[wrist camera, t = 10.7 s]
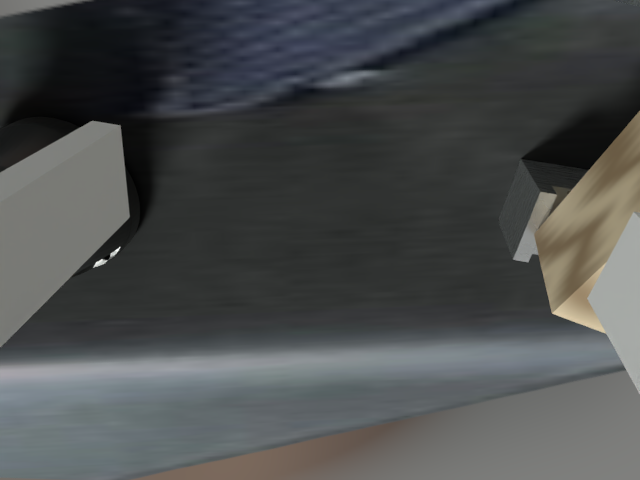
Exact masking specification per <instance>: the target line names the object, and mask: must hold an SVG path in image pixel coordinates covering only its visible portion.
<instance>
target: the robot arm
mask: <svg viewBox="0 0 640 480" xmlns="http://www.w3.org/2000/svg"><path fill="white" fill-rule="evenodd" d="M139 220H140V202H139V197H138V193H137V190H136V187H135V184H134V182H133V180H132V178H131V176H130V174H129V172H128V170H127V169H126V167H125V164H124V154H123V144H122V134H121V125H115V124H109V123H103V122H97V121H91V122H89V123H87V124H86V125H84V126H82V127H79V126H77V125H75V124H72V123H70V122H67V121H64V120H60V119H56V118H50V117H29V118H24V119H21V120H18V121H16V122H14V123H11V124H9V125H7V126H5V127H3V128H1V129H0V348H1V347H2V346H3V345H4V344H5V343H6V342H7V341H8V340H9V339H10V338H11V337H12V336H13V335H14V334H15V333H16V331H17V330H18V329H19V328H20V327H21V326H22V325H23V324H24V323H25V322H26V321H27V320H28V319H29V318H30V317H31V316H32V315H33V314H34V313H35V312H36V311H37V310H38V309H39V308H40V307H41V306H42V305H43V304H44V303H45V302H46V301H47V300H48V299H49V298H50V297H51V296H52V295H53V294H54V293H55V292H56V291H57V290H58V289H59V288H60V287H61V286H62V285H63V284H64V283H65V282H66V281H67V280H68V279H70V278H72V277H75V276H77V275H79V274H81V273H84V272H86V271H88V270H90V269H92V268H94V267H97V266H100V265H102V264H104V263H106V262H108V261H110V260H111V259H113V258H114V257H115V256H117V255H118V254H119V253H120V252H121V251H122V250H123V248H124V247H125V246H126V245H127V244H128V243H129V242H130V241H131V239H132V238H133V236H134V235H135V233H136V231H137V228H138V225H139ZM587 299H588V301H589V303H590V305H591V306H592V308H593V310H594V312H595V314H596V315H597V317H598V319H599V321H600V323H601V325H602V326H603V328H604V330H605V332H606V334H607V336H608V337H609V339H610V341H611V343H612V345H613V346H614V348H615V350H616V352H617V354H618V356H619V357H620V359H621V361H622V363H623V365H624V366H625V368H626V370H627V372H628V374H629V376H630V377H631V379H632V381H633V383H634V385H635V386H636V388H637V390H638V392H639V394H640V213H639V212H633V214H632V216H631V218H630V219H629V221H628V223H627V225H626V227H625V229H624V231H623V233H622V234H621V236H620V238H619V240H618V242H617V244H616V246H615V248H614V249H613V251H612V253H611V255H610V257H609V259H608V261H607V262H606V264H605V266H604V268H603V270H602V272H601V274H600V276H599V277H598V279H597V281H596V283H595V285H594V287H593V289H592V291H591V292H590V294H589V296H588V298H587Z"/></svg>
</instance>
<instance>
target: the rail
mask: <svg viewBox="0 0 640 480" xmlns="http://www.w3.org/2000/svg"><path fill="white" fill-rule="evenodd" d="M633 212H639V213H640V111H639V112H638V113H637V115H636V116H635V117H634V118H633V119H632V120H631V122H630V123H629V124H628V125H627V126H626V127H625V129H624V130H623V131H622V132H621V133H620V134H619V136H618V137H617V138H616V139H615V140H614V141H613V143H612V144H611V145H610V146H609V147H608V148H607V150H606V151H605V152H604V153H603V154H602V155H601V157H600V158H599V159H598V160H597V161H596V162H595V164H594V165H593V166H592V167H591V168H590V169H589V171H588V172H587V173H586V174H585V175H584V176H583V178H582V179H581V180H580V181H579V182H578V183H577V185H576V186H575V187H574V188H573V189H572V190H571V192H570V193H569V194H568V195H567V196H566V197H565V199H564V200H563V201H562V202H561V203H560V204H559V206H558V207H557V208H556V209H555V210H554V211H553V213H552V214H551V215H550V216H549V217H548V218H547V220H546V221H545V222H544V223H543V224H542V225H541V227H540V228H539V229H538V230H537V231H536V232H535V234H534V237H535V241H536V246H537V250H538V254H539V259H540V263H541V267H542V272H543V276H544V281H545V285H546V289H547V294H548V298H549V302H550V307H551V311H552V314H555V315H558V316H560V317H563V318H566V319H568V320H571V321H574V322H576V323H579V324H582V325H584V326H587V327H590V328H592V329H595V330H598V331H600V332H603V333H606V332H605V330H604V328H603V326H602V325H601V323H600V321H599V319H598V317H597V315H596V314H595V312H594V310H593V308H592V306H591V305H590V303H589V301H588V299H587V298H588V296H589V294H590V292H591V291H592V289H593V287H594V285H595V283H596V281H597V279H598V277H599V276H600V274H601V272H602V270H603V268H604V266H605V264H606V262H607V261H608V259H609V257H610V255H611V253H612V251H613V249H614V248H615V246H616V244H617V242H618V240H619V238H620V236H621V234H622V233H623V231H624V229H625V227H626V225H627V223H628V221H629V219H630V218H631V216H632V214H633Z"/></svg>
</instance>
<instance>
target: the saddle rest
mask: <svg viewBox="0 0 640 480" xmlns="http://www.w3.org/2000/svg"><path fill="white" fill-rule="evenodd" d="M588 171H589V170H586V169H580V168H574V167H568V166H562V165H556V164H550V163H544V162H538V161H532V160H526V159H521V160H520V162H519V165H518V168H517V170H516V173H515V176H514V179H513V181H512V184H511V187H510V189H509V192H508V195H507V198H506V200H505V203H504V206H503V209H502V211H501V214H500V217H499V219H498V221H499V224H500V227H501V229H502V232H503V235H504V237H505V240H506V242H507V245H508V248H509V250H510V253H511V256H512V258H513V260H518V261H524V262H529V259H530V257H531V255H532V254H537V255H539V254H538V250H537V246H536V241H535V237H534V234H535V232H536V231H537V230H538V229H539V228H540V227H541V225H542V224H543V223H544V222H545V221H546V220H547V218H548V217H549V216H550V215H551V214H552V213H553V211H554V210H555V209H556V208H557V207H558V206H559V204H560V203H561V202H562V201H563V200H564V199H565V197H566V196H567V195H568V194H569V193H570V192H571V190H572V189H573V188H574V187H575V186H576V185H577V183H578V182H579V181H580V180H581V179H582V178H583V176H584V175H585V174H586V173H587V172H588Z"/></svg>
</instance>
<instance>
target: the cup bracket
mask: <svg viewBox="0 0 640 480" xmlns="http://www.w3.org/2000/svg"><path fill="white" fill-rule="evenodd" d="M614 1H618V2H622V3H627V4H631V5H635V6H640V0H614Z"/></svg>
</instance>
